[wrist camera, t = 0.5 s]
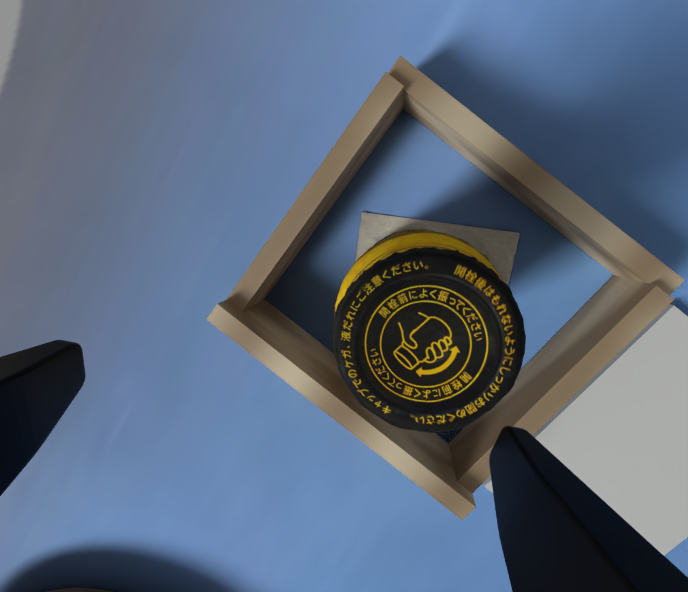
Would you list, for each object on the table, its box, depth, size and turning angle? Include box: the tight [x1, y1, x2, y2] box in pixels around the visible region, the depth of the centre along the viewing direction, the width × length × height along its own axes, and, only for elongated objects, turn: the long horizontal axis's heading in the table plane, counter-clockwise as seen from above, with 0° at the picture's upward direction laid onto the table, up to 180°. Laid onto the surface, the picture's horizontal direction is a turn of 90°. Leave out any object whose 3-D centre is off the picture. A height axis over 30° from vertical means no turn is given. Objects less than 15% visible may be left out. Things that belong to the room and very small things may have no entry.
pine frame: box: [207, 56, 684, 520], centre depth 20 cm, size 16×15×4 cm
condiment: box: [332, 212, 526, 433], centre depth 16 cm, size 7×8×12 cm
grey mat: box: [483, 304, 688, 555], centre depth 22 cm, size 10×14×1 cm
